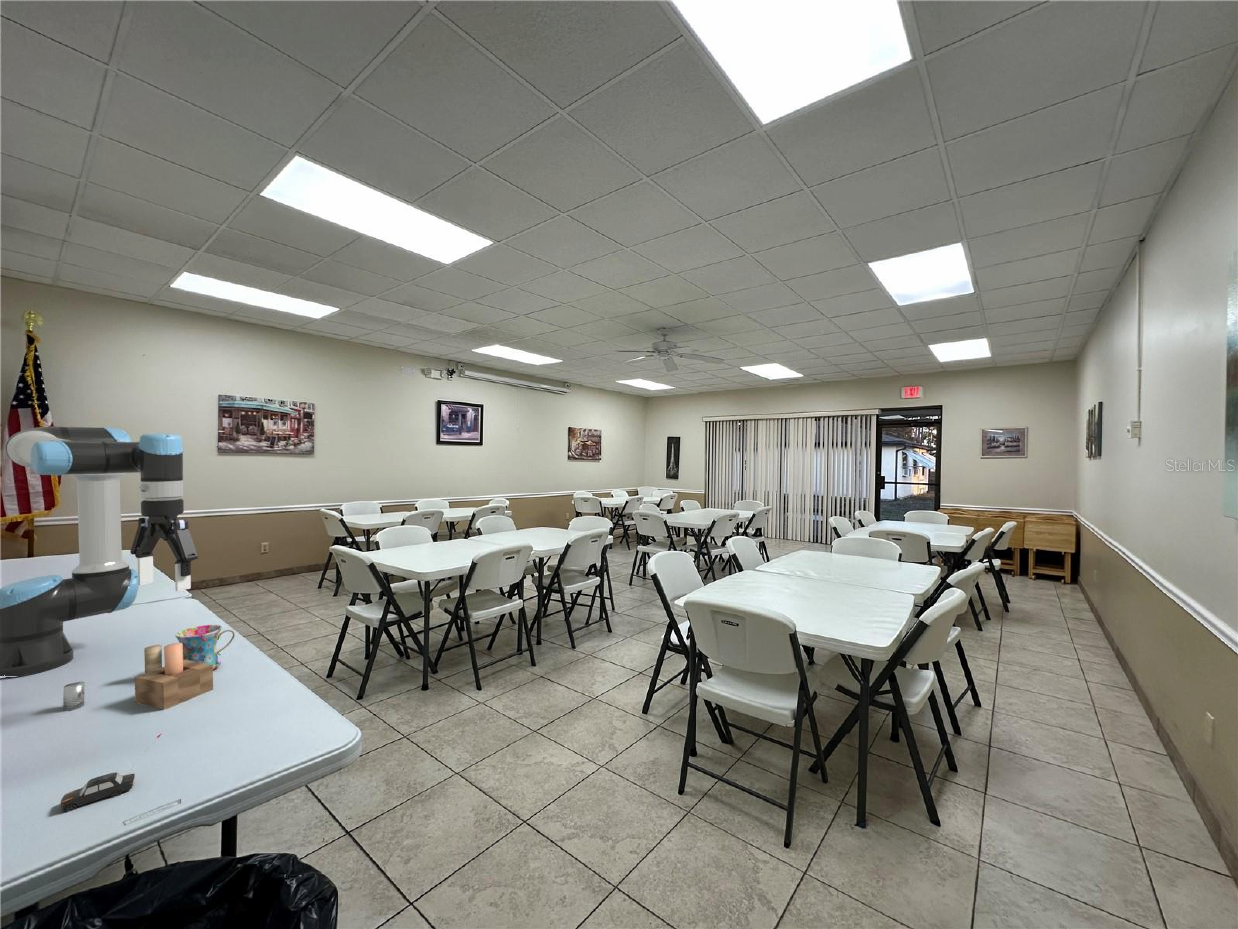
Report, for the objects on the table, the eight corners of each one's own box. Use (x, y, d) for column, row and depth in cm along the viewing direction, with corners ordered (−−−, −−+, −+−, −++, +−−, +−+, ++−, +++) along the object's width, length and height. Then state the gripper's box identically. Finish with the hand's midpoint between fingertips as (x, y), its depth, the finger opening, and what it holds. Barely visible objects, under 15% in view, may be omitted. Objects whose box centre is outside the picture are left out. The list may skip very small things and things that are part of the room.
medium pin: (142, 680, 125) (141, 648, 125) (157, 675, 128) (156, 644, 128) (150, 682, 124) (149, 650, 124) (165, 676, 127) (164, 645, 127)
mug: (177, 682, 124) (176, 640, 124) (175, 670, 131) (174, 630, 130) (237, 667, 132) (236, 628, 132) (233, 657, 139) (232, 619, 139)
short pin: (58, 709, 111) (59, 687, 110) (76, 702, 114) (76, 681, 114) (70, 711, 110) (71, 689, 110) (88, 704, 113) (88, 682, 113)
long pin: (162, 698, 116) (160, 647, 115) (178, 692, 119) (176, 642, 119) (171, 700, 115) (169, 648, 114) (187, 694, 118) (185, 643, 117)
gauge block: (135, 703, 114) (134, 677, 114) (185, 683, 123) (184, 659, 123) (164, 709, 110) (163, 683, 110) (213, 689, 120) (212, 664, 120)
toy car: (64, 804, 81) (62, 756, 81) (163, 773, 89) (162, 729, 89) (58, 817, 78) (57, 767, 78) (162, 784, 86) (161, 739, 86)
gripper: (109, 497, 119) (111, 585, 120) (179, 502, 111) (181, 596, 112) (147, 495, 126) (149, 577, 127) (215, 499, 118) (217, 587, 119)
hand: (164, 586), depth 119 cm, fingers open, 13 cm apart
